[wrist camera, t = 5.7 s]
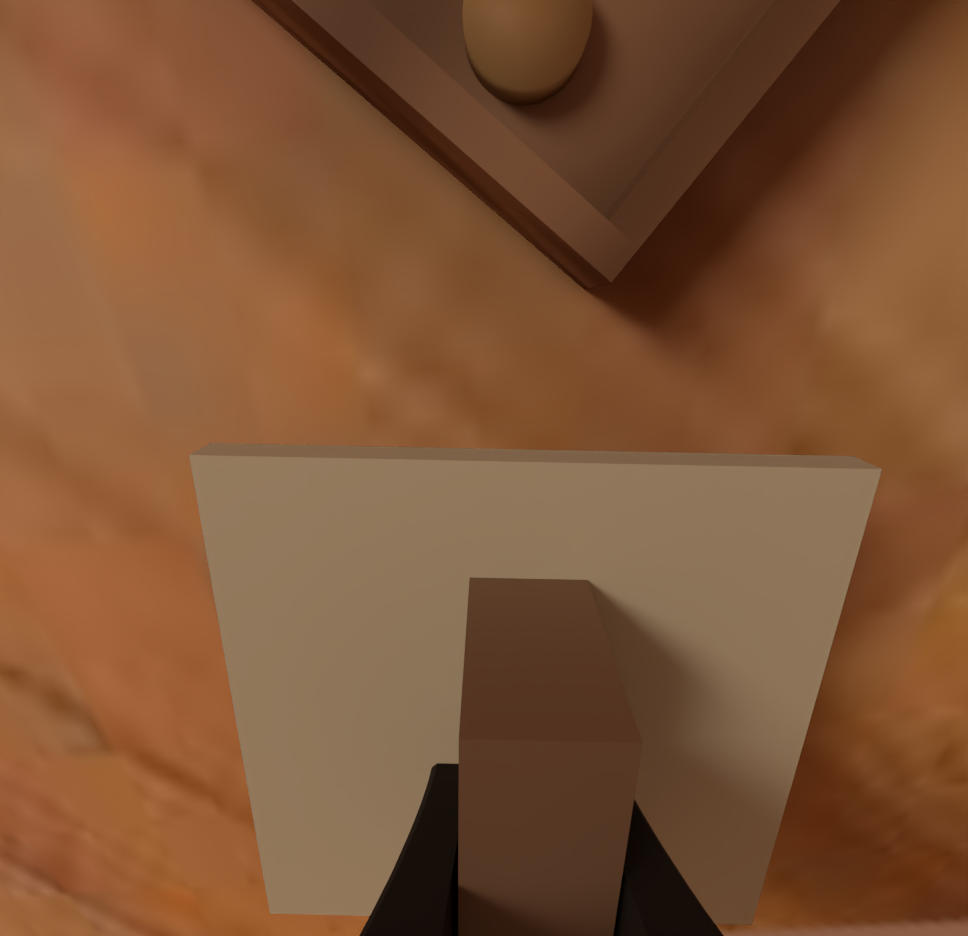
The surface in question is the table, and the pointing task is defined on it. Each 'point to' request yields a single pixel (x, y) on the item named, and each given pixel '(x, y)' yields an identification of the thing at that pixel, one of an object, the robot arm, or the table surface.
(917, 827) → the table surface
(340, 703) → the lid
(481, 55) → the wooden tray
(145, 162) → the table surface
